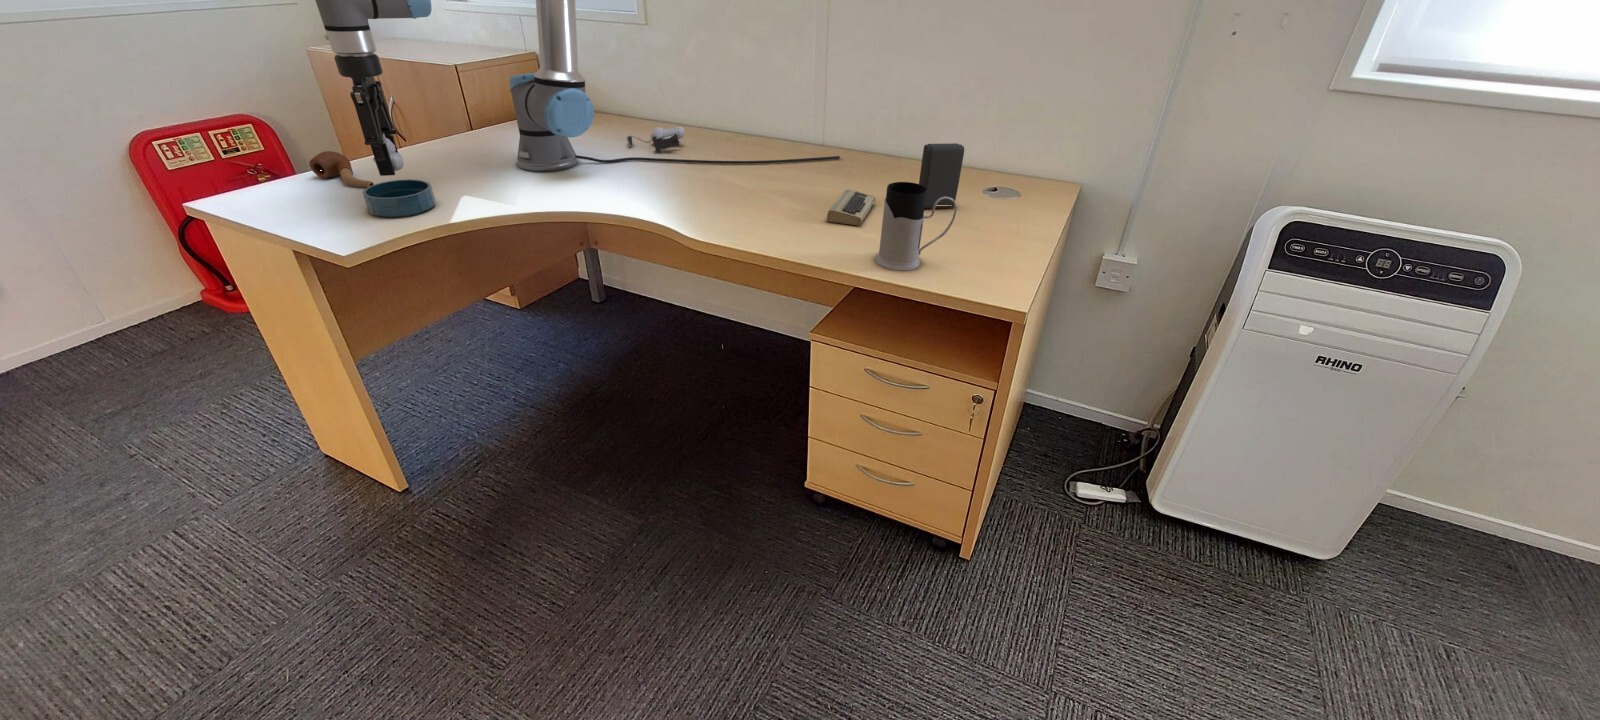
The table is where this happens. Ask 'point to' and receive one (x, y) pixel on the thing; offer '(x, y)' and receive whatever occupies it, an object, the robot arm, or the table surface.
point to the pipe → (335, 168)
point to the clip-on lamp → (663, 138)
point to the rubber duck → (393, 155)
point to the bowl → (399, 198)
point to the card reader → (941, 173)
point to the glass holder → (904, 226)
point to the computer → (850, 207)
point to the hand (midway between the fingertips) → (391, 170)
